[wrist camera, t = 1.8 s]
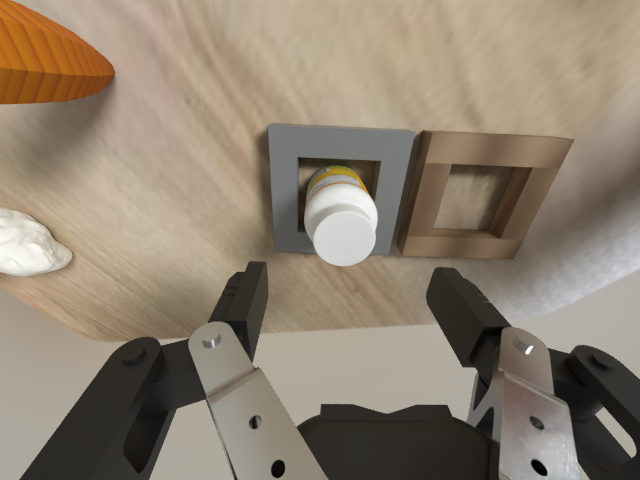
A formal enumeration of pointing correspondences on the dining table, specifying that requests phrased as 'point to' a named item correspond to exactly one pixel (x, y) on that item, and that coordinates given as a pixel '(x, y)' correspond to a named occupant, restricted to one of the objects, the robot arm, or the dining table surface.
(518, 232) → the socket
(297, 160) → the socket
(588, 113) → the dining table surface
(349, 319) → the dining table surface
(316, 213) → the supplement bottle
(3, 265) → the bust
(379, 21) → the dining table surface
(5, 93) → the carrot
